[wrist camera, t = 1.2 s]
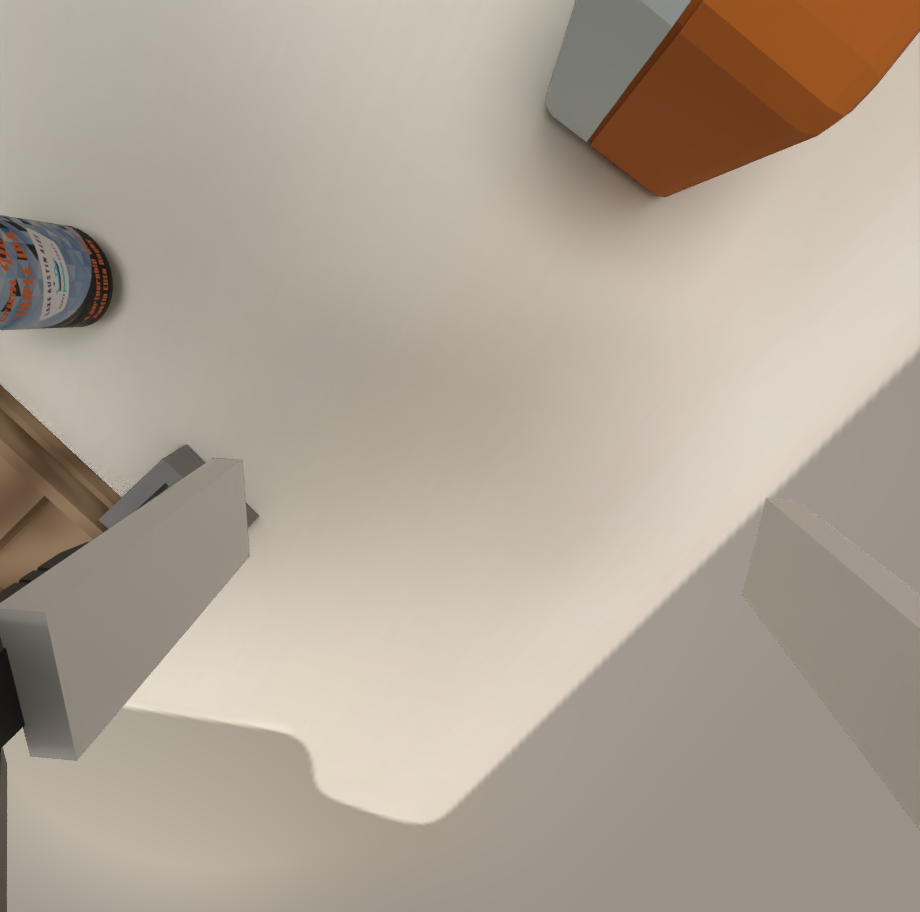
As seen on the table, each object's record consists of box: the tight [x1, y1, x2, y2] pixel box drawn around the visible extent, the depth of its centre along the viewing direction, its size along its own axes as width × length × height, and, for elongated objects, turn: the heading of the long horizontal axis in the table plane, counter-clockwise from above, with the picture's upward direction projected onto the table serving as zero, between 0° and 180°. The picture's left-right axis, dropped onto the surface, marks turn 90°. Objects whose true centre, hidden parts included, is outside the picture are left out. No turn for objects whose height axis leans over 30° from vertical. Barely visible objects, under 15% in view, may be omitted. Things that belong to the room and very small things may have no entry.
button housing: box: [99, 445, 258, 529], centre depth 39 cm, size 7×7×3 cm
